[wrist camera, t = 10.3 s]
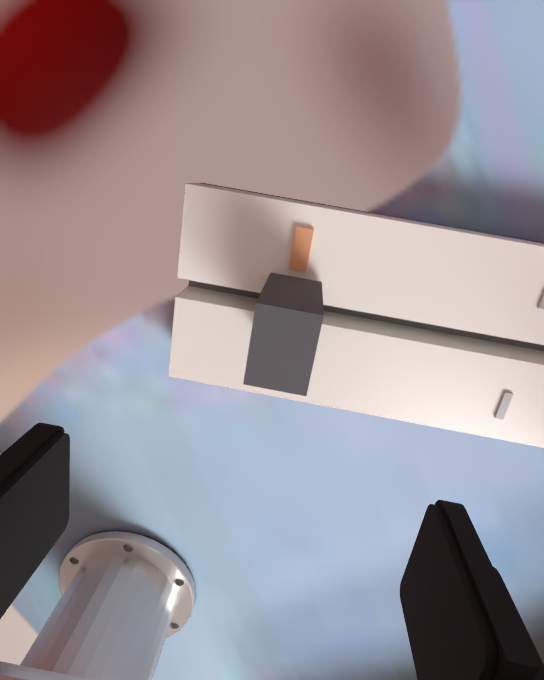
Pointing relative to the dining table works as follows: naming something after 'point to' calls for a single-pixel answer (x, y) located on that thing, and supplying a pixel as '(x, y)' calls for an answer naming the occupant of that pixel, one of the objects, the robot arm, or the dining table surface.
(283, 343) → the fader tab
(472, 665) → the robot arm
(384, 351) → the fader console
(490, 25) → the dining table surface
